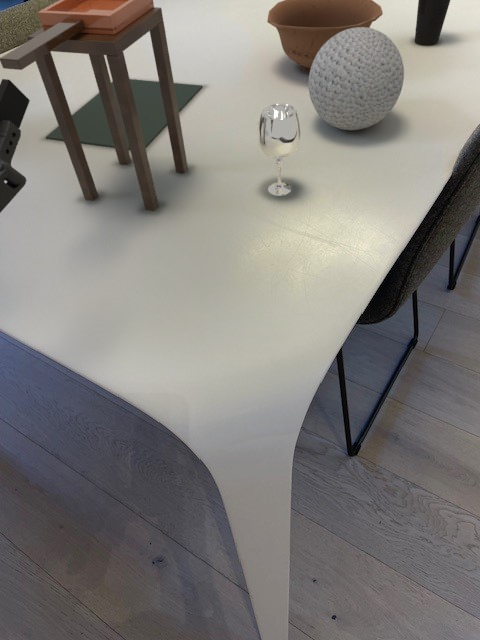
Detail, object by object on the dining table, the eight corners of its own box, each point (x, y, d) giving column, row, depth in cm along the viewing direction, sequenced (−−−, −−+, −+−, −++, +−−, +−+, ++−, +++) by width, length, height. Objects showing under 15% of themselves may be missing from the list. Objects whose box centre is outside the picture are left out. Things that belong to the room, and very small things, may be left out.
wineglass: (289, 176, 76) (289, 98, 67) (305, 195, 72) (308, 115, 63) (254, 185, 75) (250, 107, 66) (269, 205, 71) (267, 126, 62)
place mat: (46, 140, 90) (45, 136, 89) (117, 80, 106) (117, 77, 105) (142, 153, 84) (142, 149, 84) (202, 88, 100) (202, 85, 99)
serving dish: (-24, 71, 52) (-33, 50, 51) (88, 4, 65) (83, -14, 64) (54, 78, 49) (47, 57, 48) (154, 7, 63) (151, -12, 61)
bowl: (256, 87, 98) (253, 26, 90) (282, 46, 112) (282, -10, 104) (368, 94, 93) (375, 29, 85) (381, 49, 107) (389, -9, 98)
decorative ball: (410, 138, 81) (430, 39, 70) (322, 153, 80) (328, 54, 69) (375, 100, 91) (387, 8, 80) (297, 113, 90) (298, 21, 79)
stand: (85, 200, 75) (26, 36, 58) (123, 160, 83) (81, 4, 66) (154, 212, 72) (113, 42, 55) (188, 169, 79) (161, 7, 62)
